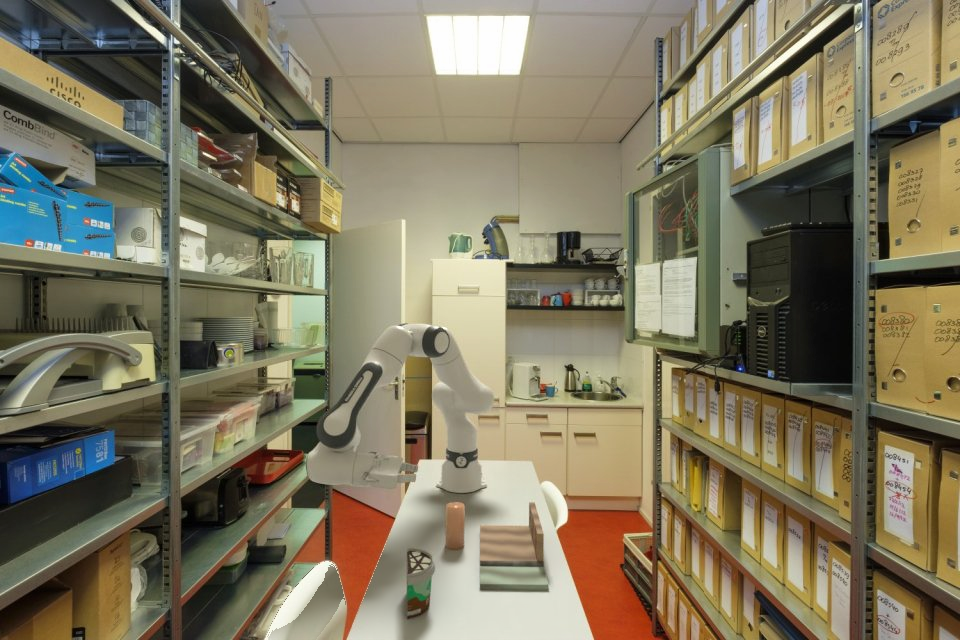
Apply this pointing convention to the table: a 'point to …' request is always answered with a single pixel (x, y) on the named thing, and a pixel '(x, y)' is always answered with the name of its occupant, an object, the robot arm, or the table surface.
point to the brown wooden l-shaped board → (513, 555)
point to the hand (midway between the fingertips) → (417, 473)
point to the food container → (418, 581)
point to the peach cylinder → (455, 525)
